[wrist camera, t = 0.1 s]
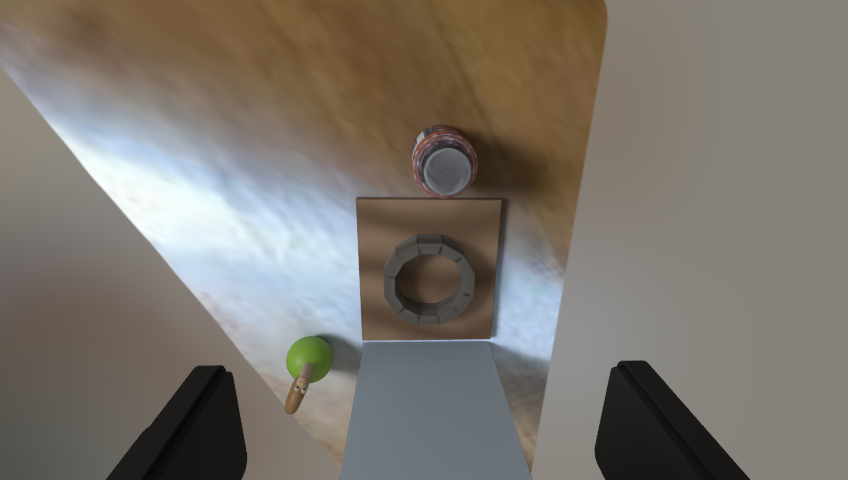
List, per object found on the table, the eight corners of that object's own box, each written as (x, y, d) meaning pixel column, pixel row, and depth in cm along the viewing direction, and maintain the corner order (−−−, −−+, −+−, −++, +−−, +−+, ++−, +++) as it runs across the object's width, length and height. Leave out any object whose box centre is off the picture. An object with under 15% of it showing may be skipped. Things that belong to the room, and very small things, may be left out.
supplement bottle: (474, 133, 44) (495, 148, 33) (456, 186, 46) (471, 216, 35) (420, 116, 43) (424, 126, 32) (404, 171, 45) (403, 196, 34)
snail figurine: (345, 330, 51) (327, 397, 40) (327, 369, 53) (306, 444, 42) (303, 315, 51) (273, 380, 39) (287, 355, 52) (254, 428, 41)
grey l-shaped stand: (357, 300, 50) (184, 1038, 11) (495, 300, 51) (782, 993, 12) (360, 355, 53) (229, 1099, 14) (491, 354, 54) (711, 1059, 15)
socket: (357, 197, 46) (352, 207, 42) (499, 197, 46) (507, 207, 42) (363, 335, 52) (359, 355, 48) (488, 334, 53) (495, 353, 49)
